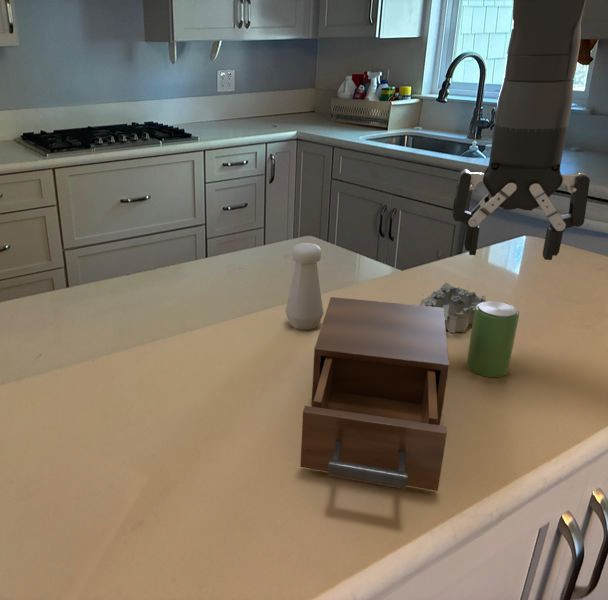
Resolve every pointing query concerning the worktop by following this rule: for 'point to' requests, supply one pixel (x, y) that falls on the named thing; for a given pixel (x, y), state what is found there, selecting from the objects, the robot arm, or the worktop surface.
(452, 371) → the worktop surface
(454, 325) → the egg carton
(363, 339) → the cabinet
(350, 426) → the drawer
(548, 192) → the robot arm
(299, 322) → the salt shaker
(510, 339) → the can
